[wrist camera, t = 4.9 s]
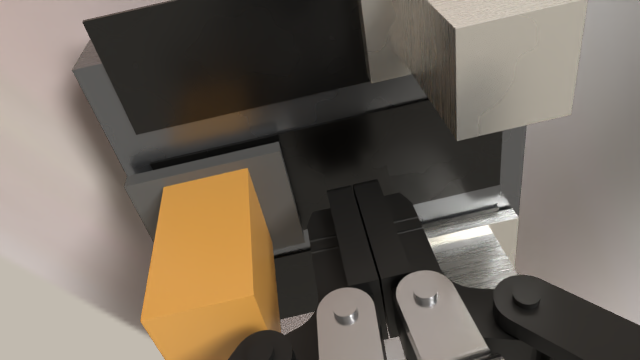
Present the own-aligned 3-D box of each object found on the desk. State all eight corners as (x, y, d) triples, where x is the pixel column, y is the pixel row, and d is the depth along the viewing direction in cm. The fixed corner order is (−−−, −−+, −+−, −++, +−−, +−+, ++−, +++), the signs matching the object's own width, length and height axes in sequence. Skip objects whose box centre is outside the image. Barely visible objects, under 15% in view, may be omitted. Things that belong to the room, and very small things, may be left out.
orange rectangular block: (278, 141, 14) (297, 274, 10) (303, 232, 17) (327, 371, 12) (126, 176, 14) (86, 323, 10) (171, 262, 17) (152, 411, 12)
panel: (507, -98, 14) (665, -42, 9) (492, 228, 21) (573, 358, 16) (71, 1, 14) (-20, 114, 9) (210, 293, 21) (204, 444, 16)
